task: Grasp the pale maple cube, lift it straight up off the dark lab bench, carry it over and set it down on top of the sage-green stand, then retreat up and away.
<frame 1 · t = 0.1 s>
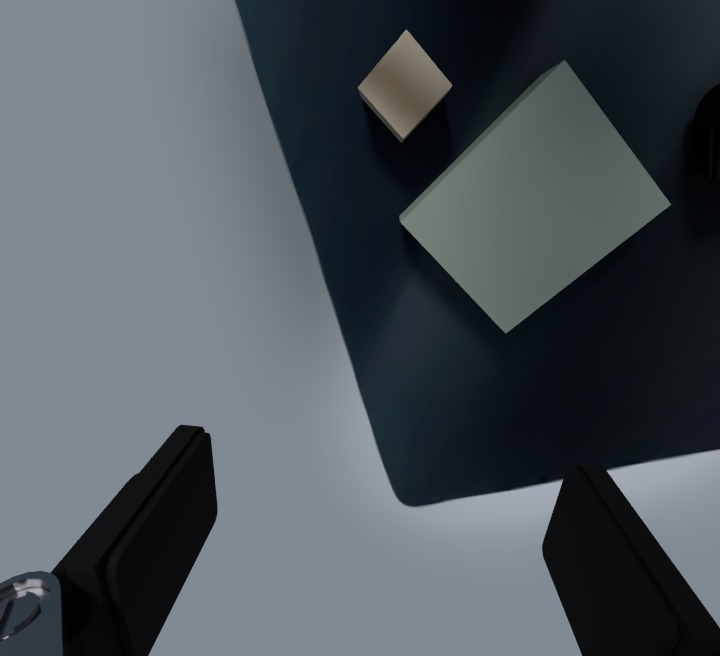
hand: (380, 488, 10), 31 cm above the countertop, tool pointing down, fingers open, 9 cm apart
sage stand: (513, 208, 37), on the countertop
maple cube: (402, 97, 34), on the countertop
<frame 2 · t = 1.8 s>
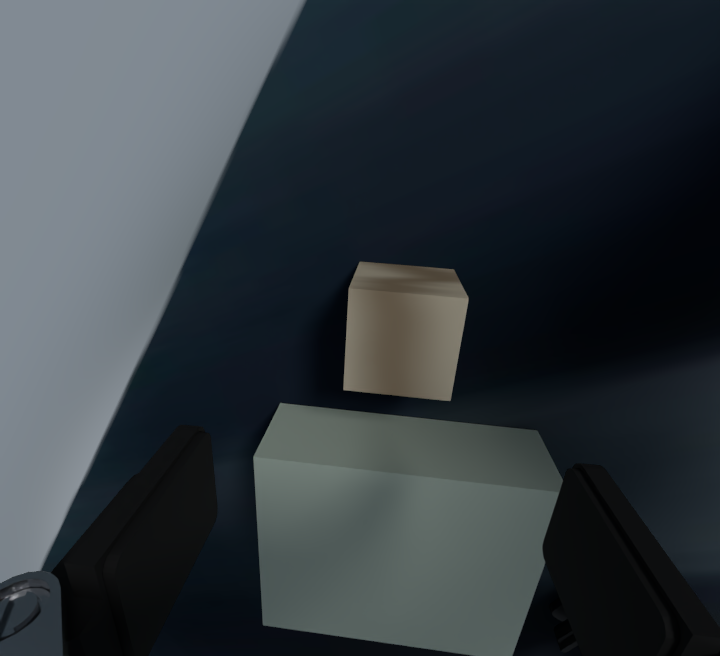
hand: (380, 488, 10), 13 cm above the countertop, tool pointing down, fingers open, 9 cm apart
end cap: (625, 605, 30), on the countertop
sage stand: (395, 500, 27), on the countertop
maple cube: (401, 309, 22), on the countertop
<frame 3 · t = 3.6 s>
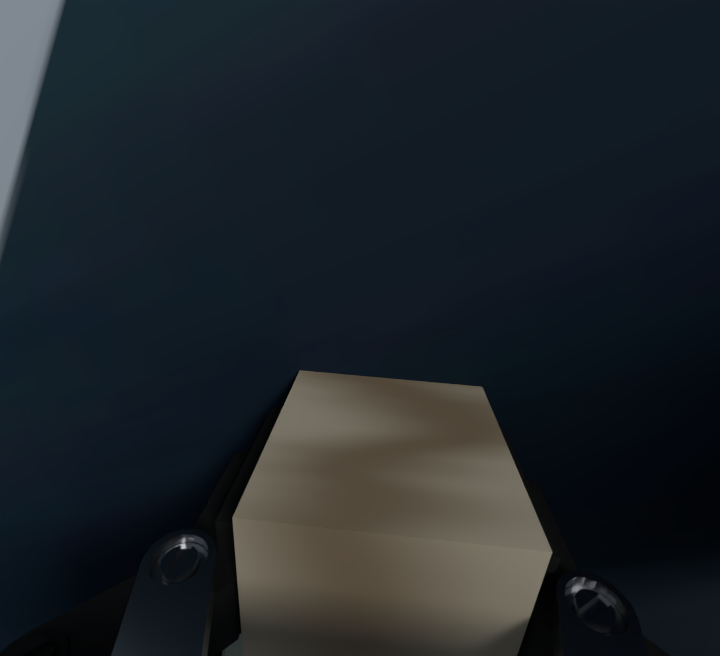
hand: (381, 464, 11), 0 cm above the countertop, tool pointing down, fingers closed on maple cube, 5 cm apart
maple cube: (382, 452, 12), on the countertop, touching gripper
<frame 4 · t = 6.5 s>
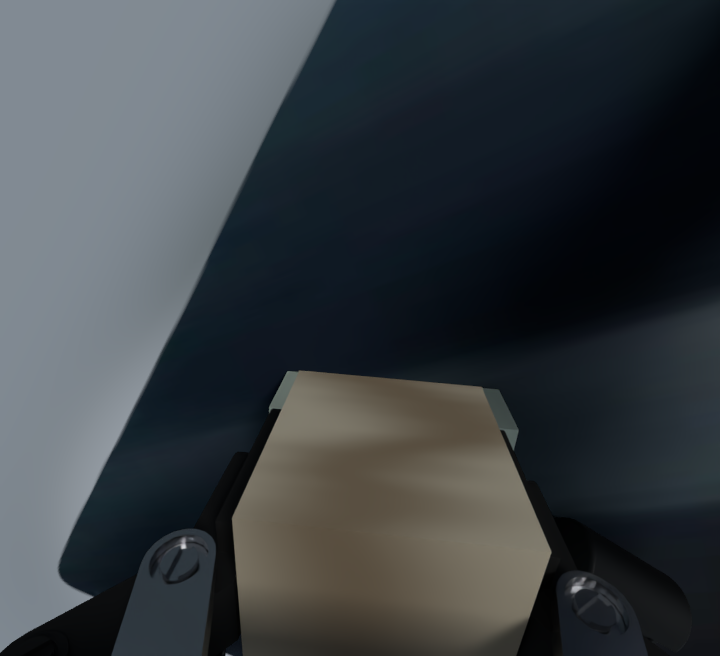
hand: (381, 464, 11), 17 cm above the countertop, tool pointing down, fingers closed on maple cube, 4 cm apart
end cap: (579, 544, 35), on the countertop
sage stand: (384, 454, 32), on the countertop
maple cube: (382, 452, 12), point 17 cm above the countertop, touching gripper
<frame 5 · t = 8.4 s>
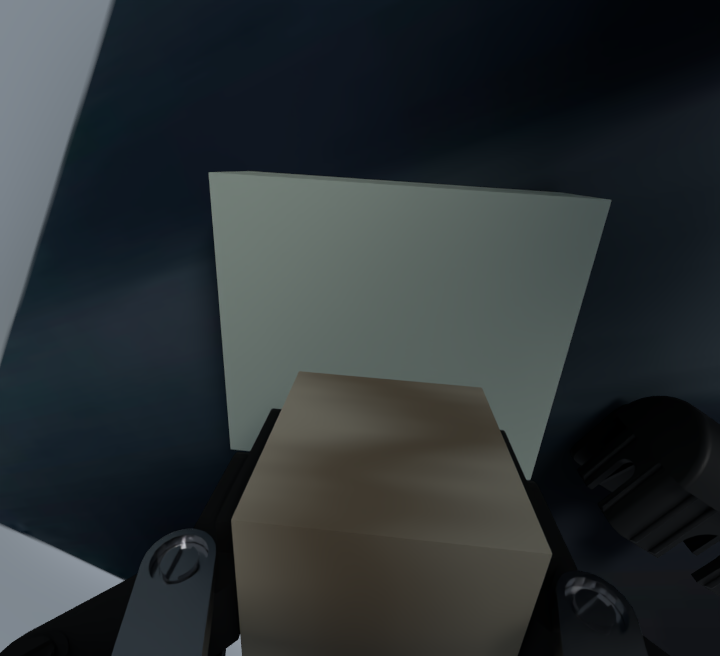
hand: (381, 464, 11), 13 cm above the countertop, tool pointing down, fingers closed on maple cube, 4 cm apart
end cap: (657, 447, 25), on the countertop
sage stand: (390, 309, 23), on the countertop
maple cube: (382, 453, 12), point 12 cm above the countertop, touching gripper
when the fingers open (7 cm above the countertop, at t = 9.8 s): maple cube drops 1 cm, resting on sage stand.
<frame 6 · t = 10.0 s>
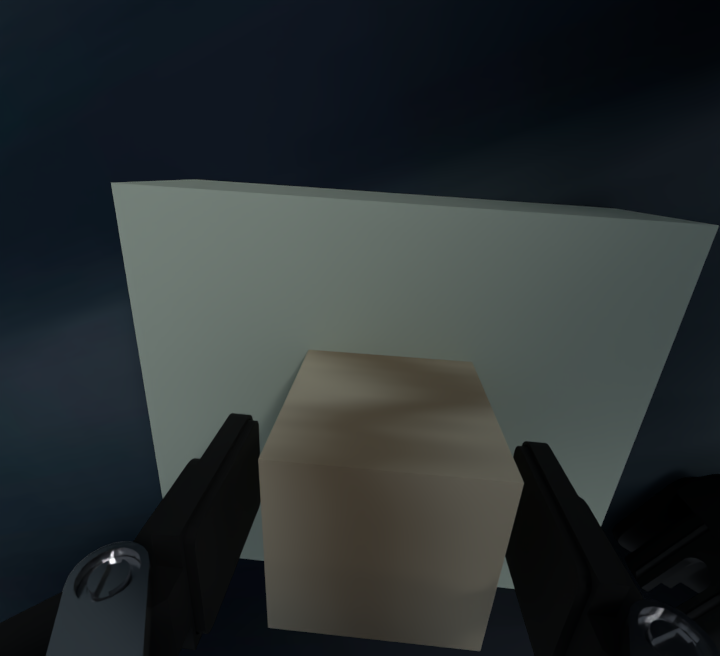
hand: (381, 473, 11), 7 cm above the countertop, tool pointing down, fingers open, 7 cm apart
sage stand: (384, 358, 18), on the countertop
maple cube: (383, 424, 13), point 5 cm above the countertop, touching sage stand
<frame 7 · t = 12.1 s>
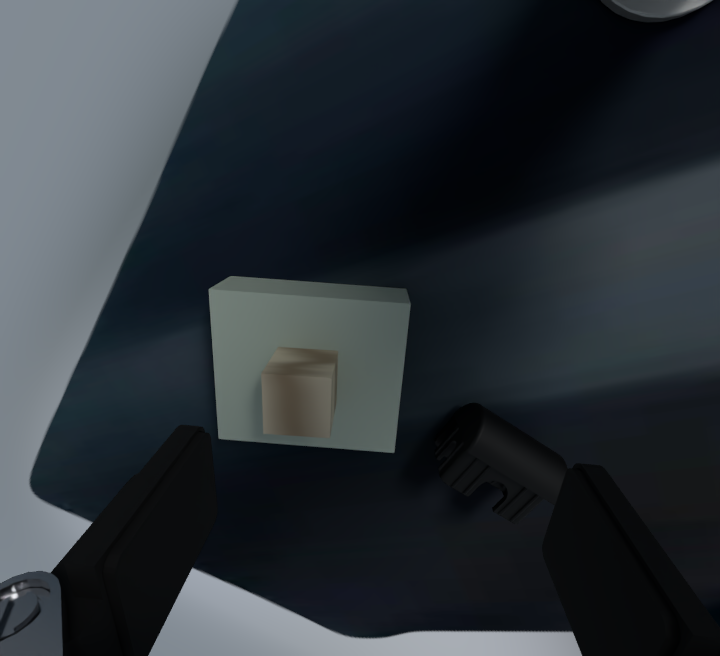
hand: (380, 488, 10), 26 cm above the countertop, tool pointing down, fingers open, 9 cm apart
end cap: (487, 436, 41), on the countertop
sage stand: (316, 353, 38), on the countertop
maple cube: (307, 376, 33), point 5 cm above the countertop, touching sage stand
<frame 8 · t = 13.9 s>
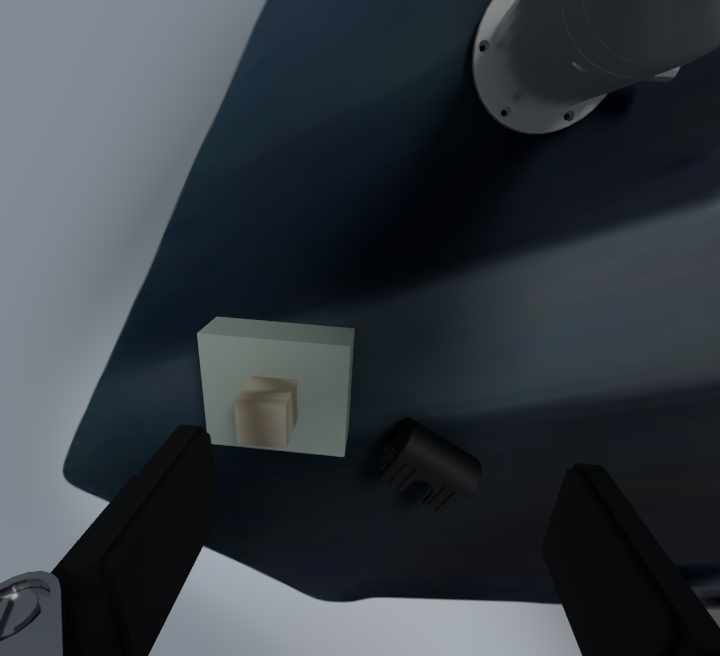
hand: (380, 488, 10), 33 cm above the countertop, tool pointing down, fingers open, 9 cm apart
end cap: (426, 442, 50), on the countertop
sage stand: (285, 376, 48), on the countertop
maple cube: (274, 398, 43), point 5 cm above the countertop, touching sage stand
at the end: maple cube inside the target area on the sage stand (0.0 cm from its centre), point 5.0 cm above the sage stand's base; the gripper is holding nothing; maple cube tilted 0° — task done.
